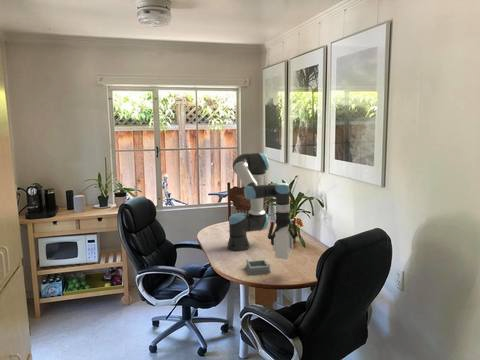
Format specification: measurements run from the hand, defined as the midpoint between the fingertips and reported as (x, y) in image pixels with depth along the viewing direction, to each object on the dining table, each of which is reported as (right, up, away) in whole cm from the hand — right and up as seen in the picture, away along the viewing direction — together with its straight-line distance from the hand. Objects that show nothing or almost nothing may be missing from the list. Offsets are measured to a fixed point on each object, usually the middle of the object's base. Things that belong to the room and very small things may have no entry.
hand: (282, 249), depth 216 cm
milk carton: (0, -4, +1) cm, 4 cm away
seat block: (-14, -13, +7) cm, 20 cm away
